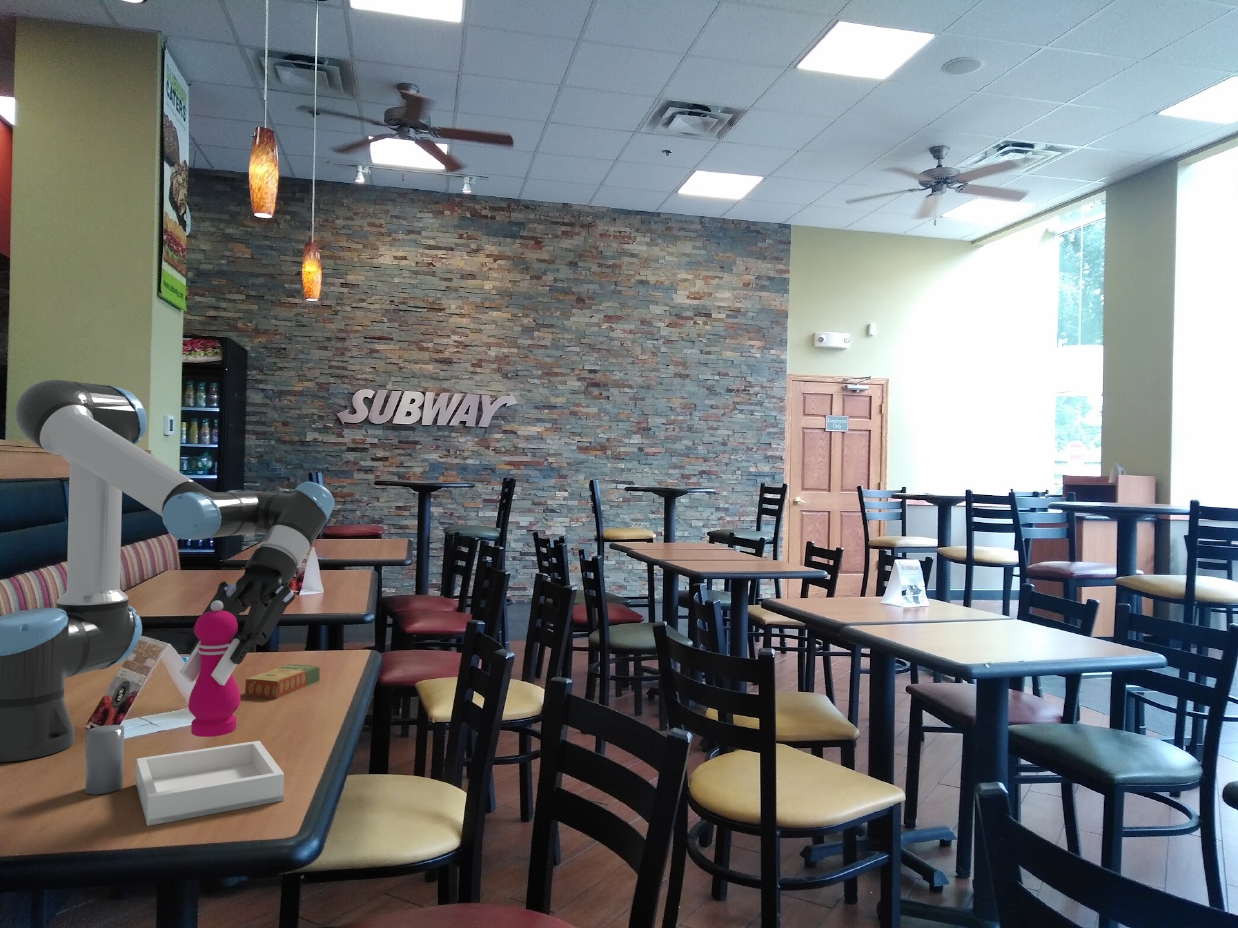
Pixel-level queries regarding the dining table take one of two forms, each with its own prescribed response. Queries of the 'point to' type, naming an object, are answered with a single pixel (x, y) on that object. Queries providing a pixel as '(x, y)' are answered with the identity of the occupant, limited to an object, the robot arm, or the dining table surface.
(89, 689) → the dining table surface
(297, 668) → the carton
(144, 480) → the robot arm
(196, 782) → the tray
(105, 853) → the dining table surface
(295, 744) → the dining table surface
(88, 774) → the grey rounded pillar
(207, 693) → the pepper mill
